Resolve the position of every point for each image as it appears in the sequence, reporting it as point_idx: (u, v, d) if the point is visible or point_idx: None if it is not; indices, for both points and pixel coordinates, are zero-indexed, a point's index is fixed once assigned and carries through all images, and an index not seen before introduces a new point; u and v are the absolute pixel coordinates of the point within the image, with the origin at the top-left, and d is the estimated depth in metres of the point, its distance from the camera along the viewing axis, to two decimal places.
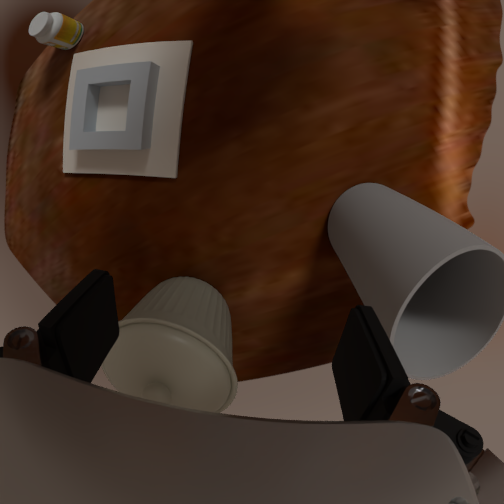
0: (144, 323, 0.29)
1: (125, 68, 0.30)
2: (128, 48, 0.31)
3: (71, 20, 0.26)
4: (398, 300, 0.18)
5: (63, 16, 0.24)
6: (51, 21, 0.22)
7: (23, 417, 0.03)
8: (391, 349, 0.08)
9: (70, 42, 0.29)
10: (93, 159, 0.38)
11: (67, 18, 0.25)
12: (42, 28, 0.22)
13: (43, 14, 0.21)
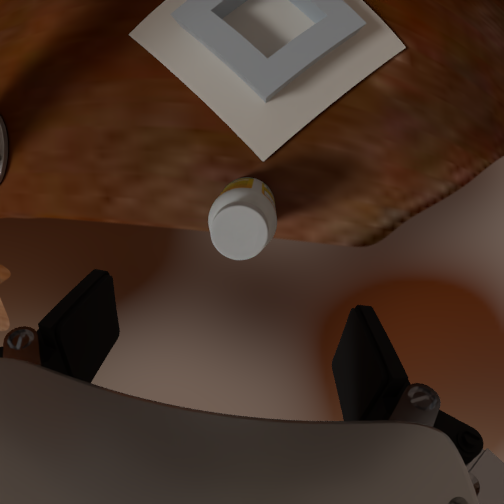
0: None
1: (204, 29, 0.19)
2: (192, 81, 0.24)
3: None
4: None
5: None
6: (220, 209, 0.21)
7: (23, 417, 0.03)
8: (391, 349, 0.08)
9: (250, 179, 0.26)
10: None
11: None
12: (238, 206, 0.19)
13: (218, 238, 0.20)
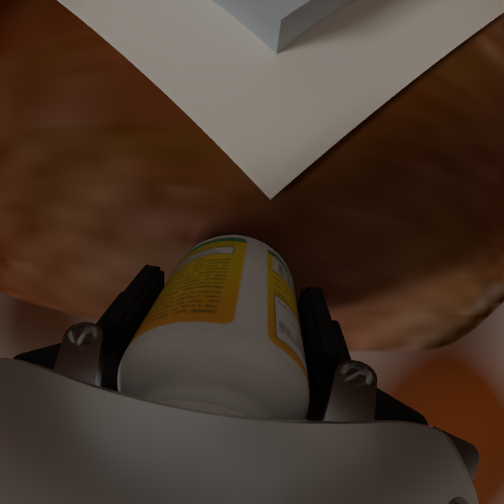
0: None
1: None
2: (110, 24, 0.08)
3: None
4: None
5: None
6: None
7: (23, 417, 0.03)
8: (330, 326, 0.09)
9: (236, 249, 0.11)
10: None
11: None
12: None
13: None
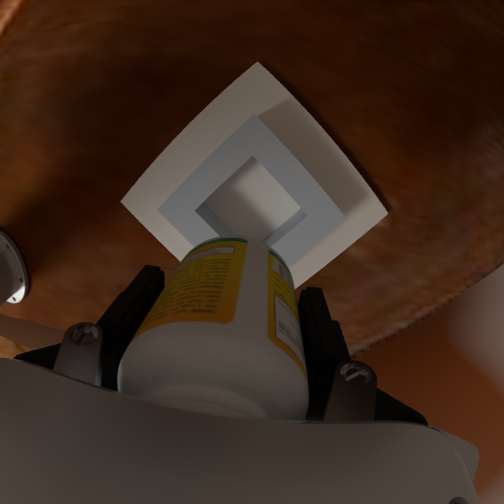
0: None
1: (191, 232, 0.26)
2: None
3: None
4: None
5: None
6: None
7: (23, 417, 0.03)
8: (330, 326, 0.09)
9: (237, 250, 0.11)
10: (337, 179, 0.27)
11: None
12: None
13: None
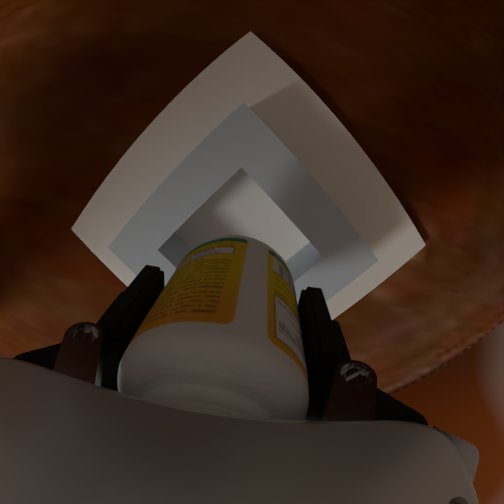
0: None
1: None
2: None
3: None
4: None
5: None
6: None
7: (23, 417, 0.03)
8: (330, 326, 0.09)
9: (237, 250, 0.11)
10: (363, 200, 0.19)
11: None
12: None
13: None
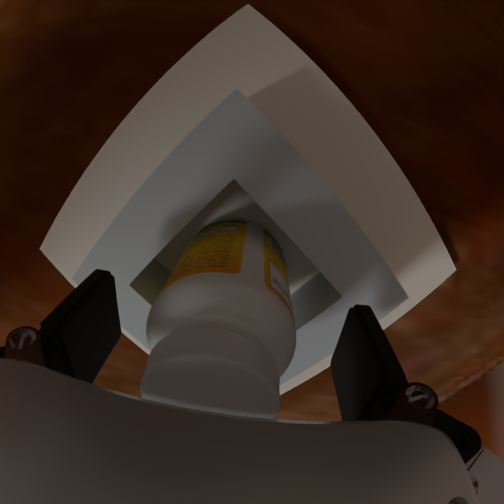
0: None
1: (129, 318, 0.14)
2: None
3: None
4: None
5: None
6: None
7: (23, 417, 0.03)
8: (389, 348, 0.08)
9: (239, 228, 0.13)
10: (389, 218, 0.15)
11: None
12: (202, 357, 0.07)
13: None
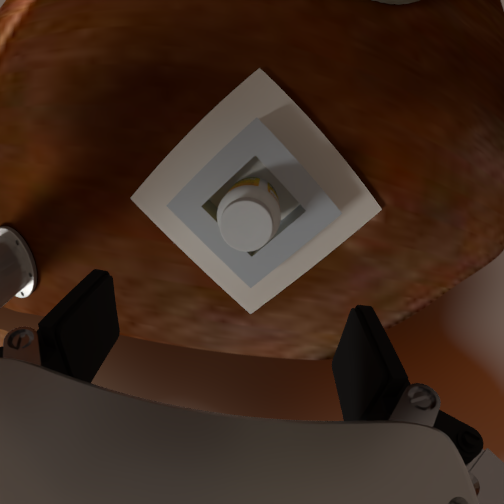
0: None
1: (198, 226, 0.28)
2: (192, 253, 0.33)
3: None
4: None
5: None
6: (229, 204, 0.22)
7: (23, 417, 0.03)
8: (391, 349, 0.08)
9: (256, 179, 0.28)
10: (333, 177, 0.29)
11: None
12: (246, 201, 0.21)
13: (227, 230, 0.22)
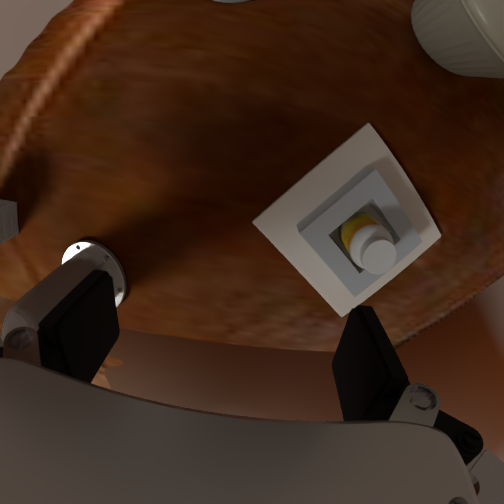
0: (494, 45, 0.14)
1: (323, 250, 0.35)
2: (303, 269, 0.40)
3: (346, 232, 0.34)
4: None
5: (350, 240, 0.32)
6: (368, 240, 0.29)
7: (23, 417, 0.03)
8: (391, 349, 0.08)
9: (366, 214, 0.35)
10: (413, 212, 0.36)
11: (348, 236, 0.33)
12: (383, 240, 0.28)
13: (367, 260, 0.29)
